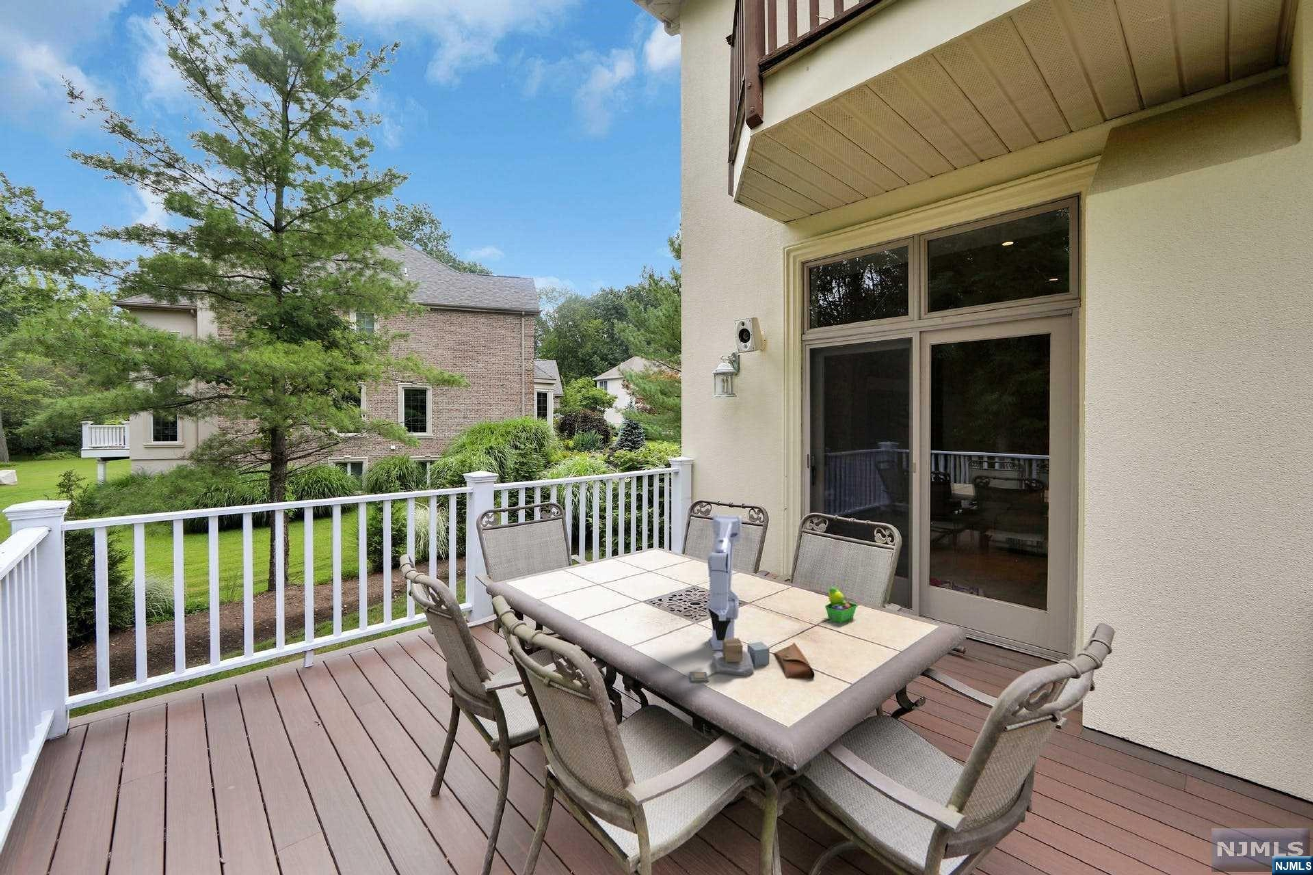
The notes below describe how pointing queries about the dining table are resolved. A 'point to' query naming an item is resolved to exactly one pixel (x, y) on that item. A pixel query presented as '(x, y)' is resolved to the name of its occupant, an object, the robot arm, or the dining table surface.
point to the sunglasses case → (794, 663)
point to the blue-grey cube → (758, 653)
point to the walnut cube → (732, 650)
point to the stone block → (733, 665)
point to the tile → (699, 677)
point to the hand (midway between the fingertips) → (718, 634)
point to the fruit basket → (839, 607)
